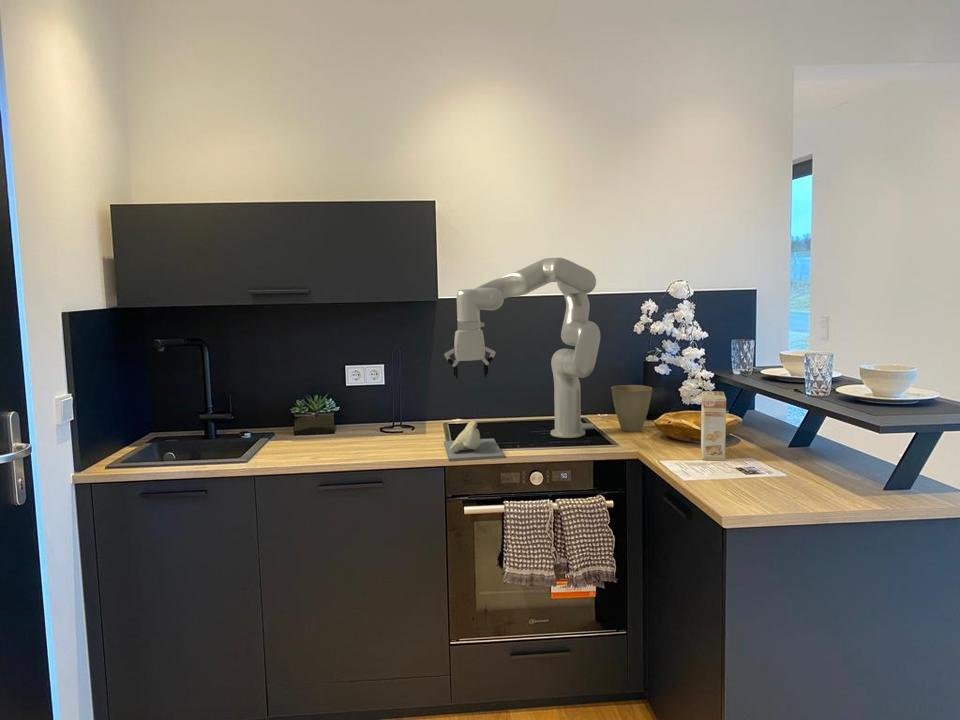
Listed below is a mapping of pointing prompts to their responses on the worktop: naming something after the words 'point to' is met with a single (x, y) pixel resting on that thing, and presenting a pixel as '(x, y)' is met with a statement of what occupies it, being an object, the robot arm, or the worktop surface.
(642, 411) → the plant pot
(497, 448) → the mat
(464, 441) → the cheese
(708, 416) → the coffeecake box
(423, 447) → the worktop surface
